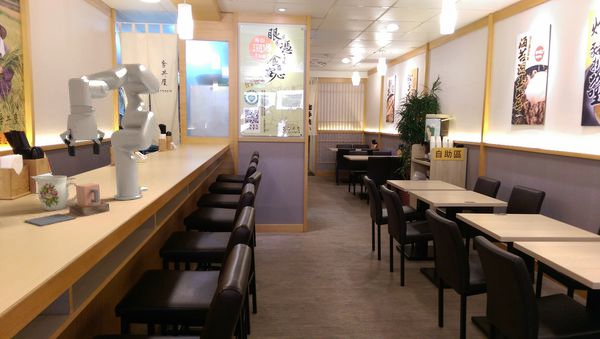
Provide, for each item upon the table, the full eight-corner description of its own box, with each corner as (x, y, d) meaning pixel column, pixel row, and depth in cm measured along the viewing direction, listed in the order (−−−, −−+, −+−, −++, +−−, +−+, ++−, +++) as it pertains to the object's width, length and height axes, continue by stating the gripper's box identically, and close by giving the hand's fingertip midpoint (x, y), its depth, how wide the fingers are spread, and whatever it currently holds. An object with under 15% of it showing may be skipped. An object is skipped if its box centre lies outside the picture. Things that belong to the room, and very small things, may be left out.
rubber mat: (58, 214, 160) (58, 213, 160) (75, 218, 154) (75, 217, 154) (24, 221, 150) (24, 220, 150) (41, 226, 144) (41, 224, 144)
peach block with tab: (92, 209, 169) (90, 183, 167) (105, 212, 164) (103, 185, 163) (78, 212, 164) (75, 185, 162) (91, 215, 159) (88, 187, 158)
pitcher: (77, 210, 168) (74, 176, 166) (28, 212, 165) (24, 178, 163) (85, 204, 179) (82, 173, 177) (39, 206, 175) (36, 174, 173)
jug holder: (94, 207, 172) (94, 200, 171) (109, 210, 166) (109, 203, 166) (69, 213, 163) (68, 205, 163) (84, 216, 158) (83, 208, 157)
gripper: (97, 111, 169) (99, 153, 171) (53, 110, 154) (56, 156, 156) (108, 111, 165) (110, 154, 167) (64, 110, 150) (67, 157, 152)
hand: (84, 155), depth 161 cm, fingers open, 9 cm apart
